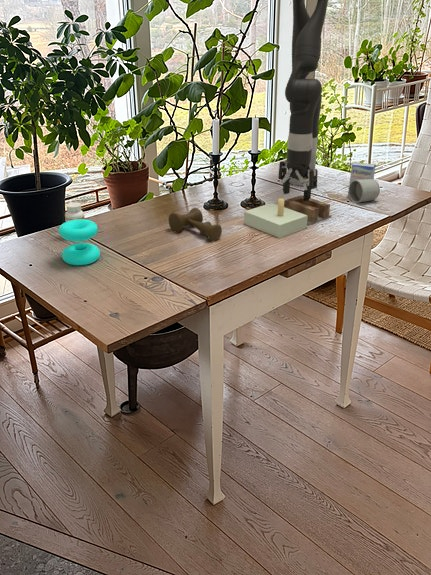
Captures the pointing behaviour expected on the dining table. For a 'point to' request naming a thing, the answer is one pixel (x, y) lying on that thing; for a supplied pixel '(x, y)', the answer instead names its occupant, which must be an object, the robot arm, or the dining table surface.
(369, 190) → the ceramic mug
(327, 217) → the coaster
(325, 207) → the c link
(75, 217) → the supplement bottle
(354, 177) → the medicine box
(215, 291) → the dining table surface
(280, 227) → the stand
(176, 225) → the brown dog bone
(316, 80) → the robot arm
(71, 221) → the donuts
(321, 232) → the dining table surface
